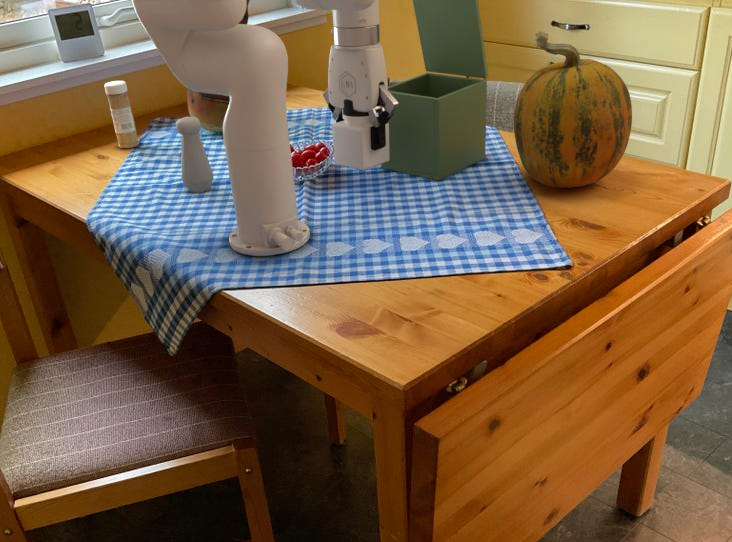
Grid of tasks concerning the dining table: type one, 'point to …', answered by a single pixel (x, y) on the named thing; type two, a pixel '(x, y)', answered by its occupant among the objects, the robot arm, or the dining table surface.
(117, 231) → the dining table surface
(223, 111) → the ceramic pitcher
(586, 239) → the dining table surface
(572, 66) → the pumpkin
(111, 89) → the sprinkles bottle
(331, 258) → the dining table surface
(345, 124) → the medicine bottle
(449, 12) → the lid
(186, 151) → the salt shaker
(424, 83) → the chest
